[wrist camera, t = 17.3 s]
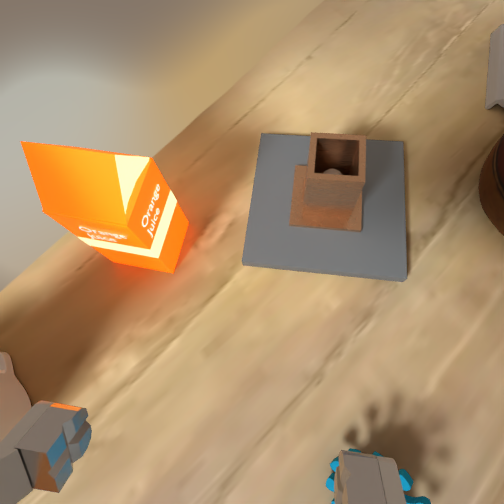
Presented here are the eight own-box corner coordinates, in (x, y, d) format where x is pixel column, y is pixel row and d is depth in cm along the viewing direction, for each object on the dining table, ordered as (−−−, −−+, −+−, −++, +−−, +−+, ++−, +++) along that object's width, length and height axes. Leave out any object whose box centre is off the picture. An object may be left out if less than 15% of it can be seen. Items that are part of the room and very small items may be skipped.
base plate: (242, 265, 44) (237, 246, 38) (261, 140, 51) (259, 107, 45) (402, 282, 41) (424, 265, 35) (399, 148, 48) (416, 115, 42)
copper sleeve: (289, 226, 44) (291, 189, 35) (295, 167, 47) (298, 121, 38) (360, 232, 43) (380, 196, 34) (361, 172, 46) (380, 125, 37)
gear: (306, 459, 34) (395, 452, 28) (334, 430, 38) (416, 418, 32) (358, 580, 32) (469, 602, 25) (381, 533, 36) (480, 542, 30)
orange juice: (173, 274, 44) (96, 196, 25) (111, 262, 45) (-5, 180, 27) (189, 221, 47) (131, 115, 28) (131, 211, 48) (37, 104, 29)
